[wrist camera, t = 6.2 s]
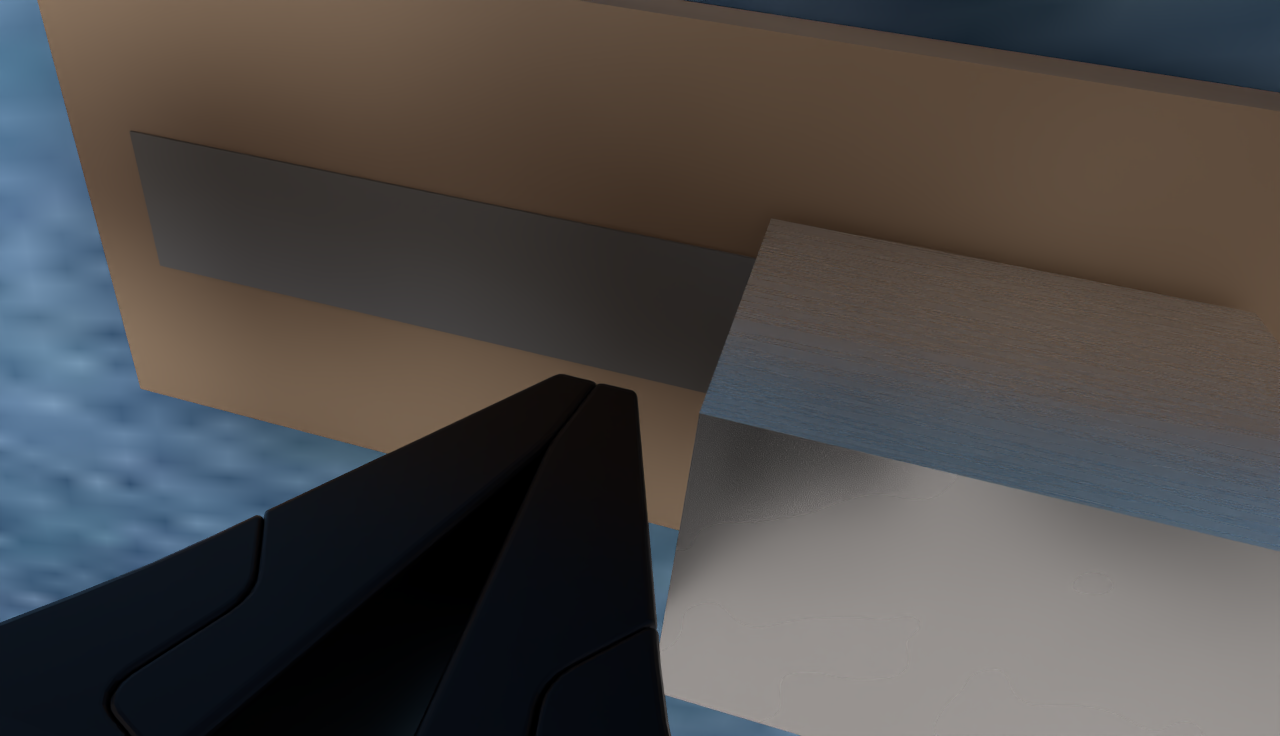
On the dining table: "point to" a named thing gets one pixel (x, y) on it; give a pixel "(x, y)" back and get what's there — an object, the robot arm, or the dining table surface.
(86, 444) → the dining table surface
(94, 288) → the dining table surface
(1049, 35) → the dining table surface
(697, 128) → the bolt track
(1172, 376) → the bolt
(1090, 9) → the dining table surface
